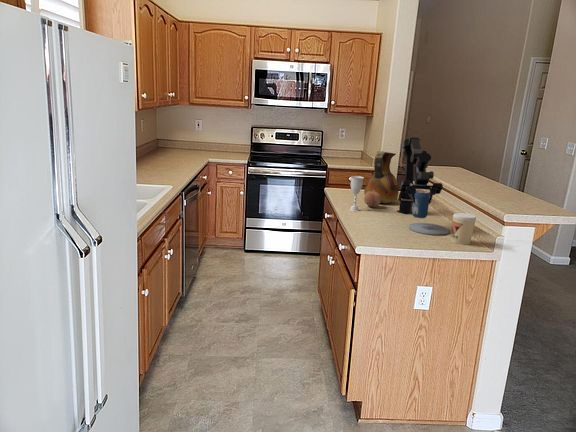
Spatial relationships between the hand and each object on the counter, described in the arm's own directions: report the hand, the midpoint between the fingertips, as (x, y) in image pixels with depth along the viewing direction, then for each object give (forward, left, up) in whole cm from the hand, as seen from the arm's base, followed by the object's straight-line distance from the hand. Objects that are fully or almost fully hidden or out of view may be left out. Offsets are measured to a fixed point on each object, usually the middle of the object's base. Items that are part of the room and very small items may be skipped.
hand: (421, 202), depth 213 cm
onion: (-10, -45, -13) cm, 48 cm away
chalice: (+4, -43, -13) cm, 45 cm away
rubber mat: (-5, +2, -13) cm, 14 cm away
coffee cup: (-4, +21, -13) cm, 25 cm away
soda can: (-1, -1, -7) cm, 7 cm away
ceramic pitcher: (-25, -55, -13) cm, 62 cm away
